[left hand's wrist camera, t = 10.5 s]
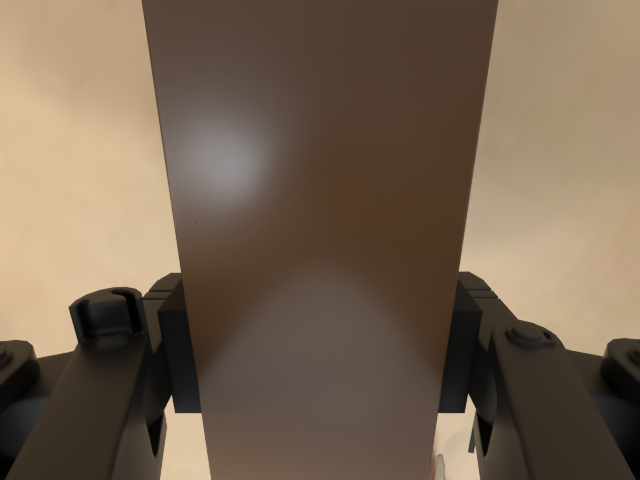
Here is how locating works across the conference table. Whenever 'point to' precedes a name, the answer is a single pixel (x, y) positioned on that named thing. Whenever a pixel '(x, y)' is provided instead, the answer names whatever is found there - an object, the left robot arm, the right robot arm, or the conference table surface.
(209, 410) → the plank
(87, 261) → the conference table surface
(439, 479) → the fish
